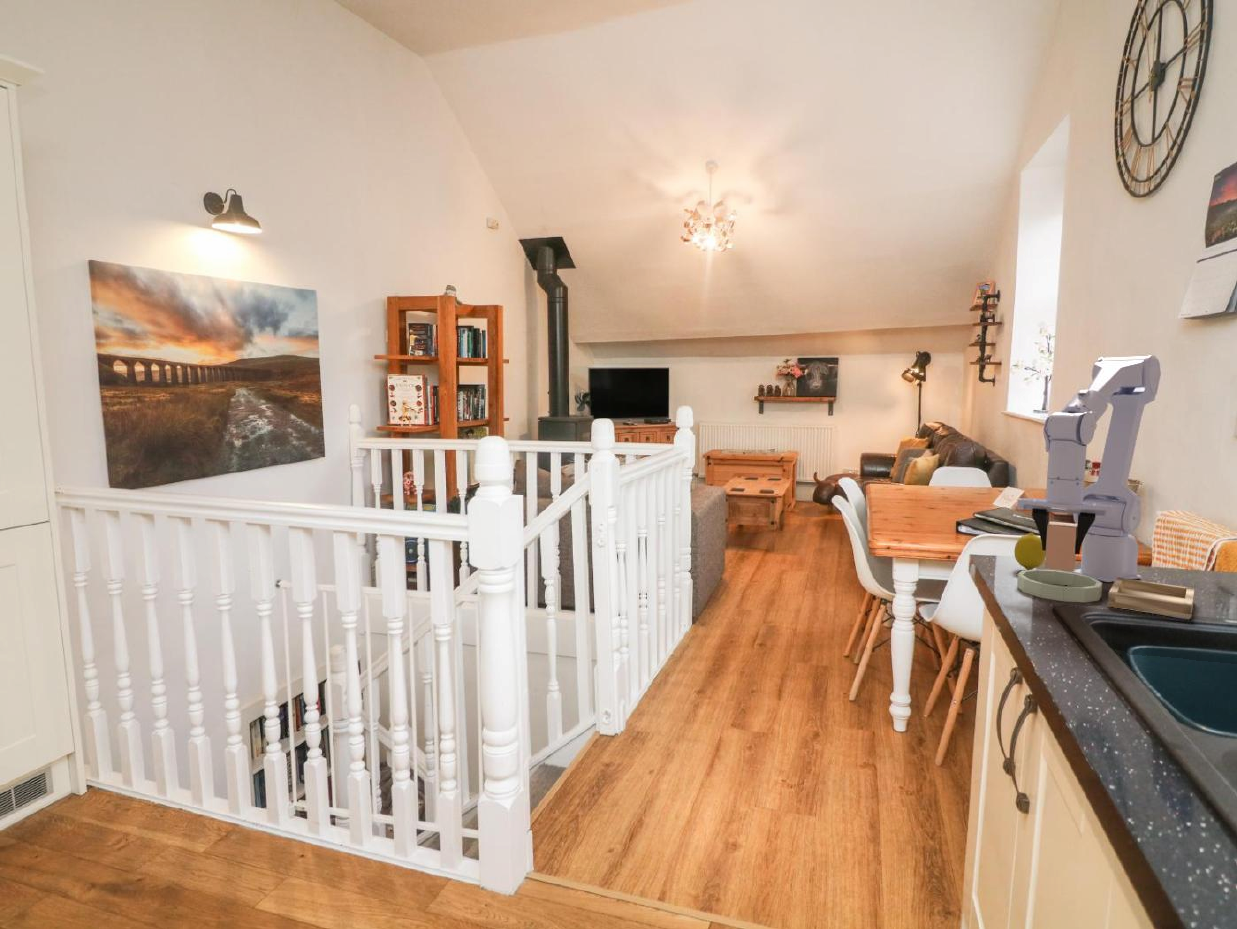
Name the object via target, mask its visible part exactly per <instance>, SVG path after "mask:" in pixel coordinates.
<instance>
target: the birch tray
mask: <svg viewBox="0 0 1237 929" xmlns="http://www.w3.org/2000/svg"><path fill="white" fill-rule="evenodd" d="M1194 598H1195V588H1194V587H1190V586H1189V587H1188V586H1181V585H1173V584H1166V583H1161V582H1152V581H1146V580H1138V579H1125V578H1118V577H1117V579H1116V581H1114V582H1113V584H1112V586H1111V588H1110V589H1109V591H1108V593H1107V608H1111V607H1114V608H1113V609H1117V608H1127V609H1133V610H1139V611H1148V612H1154V613H1159V614H1162V615H1174V616H1180V617H1187V618H1188V617H1189V618H1191V619H1192V614H1191V613H1192V612H1193V607H1194Z"/></svg>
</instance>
